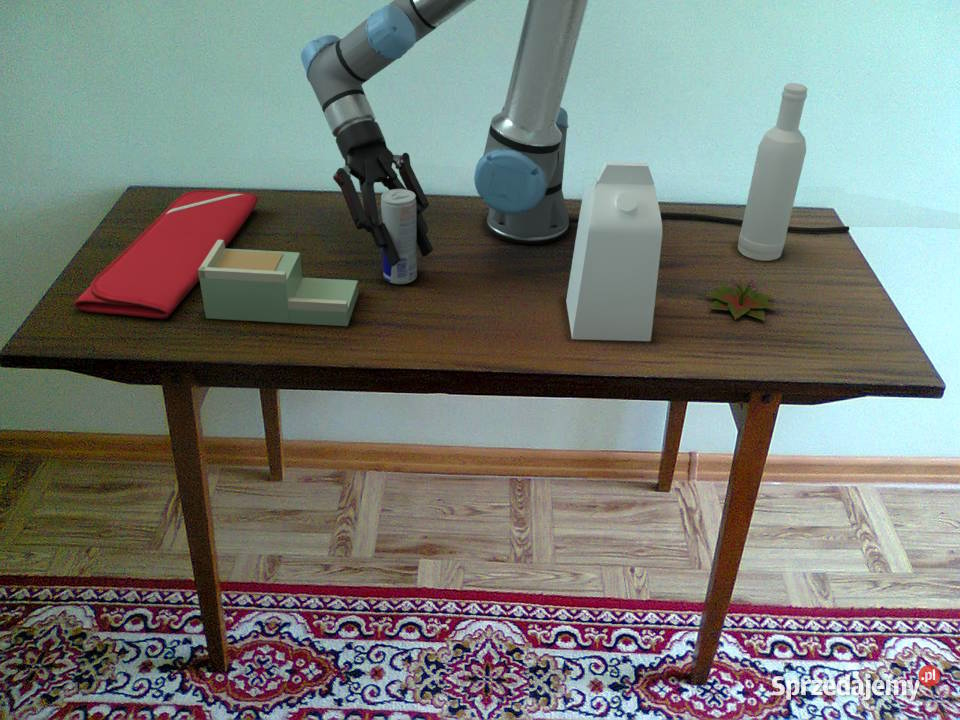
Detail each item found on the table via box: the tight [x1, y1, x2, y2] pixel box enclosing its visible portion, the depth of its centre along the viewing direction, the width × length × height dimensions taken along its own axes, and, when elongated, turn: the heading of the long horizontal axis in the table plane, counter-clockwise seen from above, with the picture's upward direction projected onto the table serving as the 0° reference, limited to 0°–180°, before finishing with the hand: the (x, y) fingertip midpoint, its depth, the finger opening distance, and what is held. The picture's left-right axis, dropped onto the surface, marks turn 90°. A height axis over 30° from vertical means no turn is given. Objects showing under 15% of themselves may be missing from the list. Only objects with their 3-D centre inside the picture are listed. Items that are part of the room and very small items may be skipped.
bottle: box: [737, 82, 808, 262], centre depth 157 cm, size 8×8×30 cm
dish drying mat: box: [73, 189, 259, 320], centre depth 156 cm, size 16×41×4 cm, turn 172°
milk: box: [565, 160, 663, 342], centre depth 137 cm, size 12×12×26 cm
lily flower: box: [705, 276, 778, 322], centre depth 148 cm, size 12×12×5 cm
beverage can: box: [380, 189, 418, 285], centre depth 149 cm, size 6×6×15 cm
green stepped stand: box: [198, 240, 360, 327], centre depth 142 cm, size 22×10×8 cm, turn 87°
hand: (411, 258), depth 148 cm, fingers closed on beverage can, 5 cm apart
